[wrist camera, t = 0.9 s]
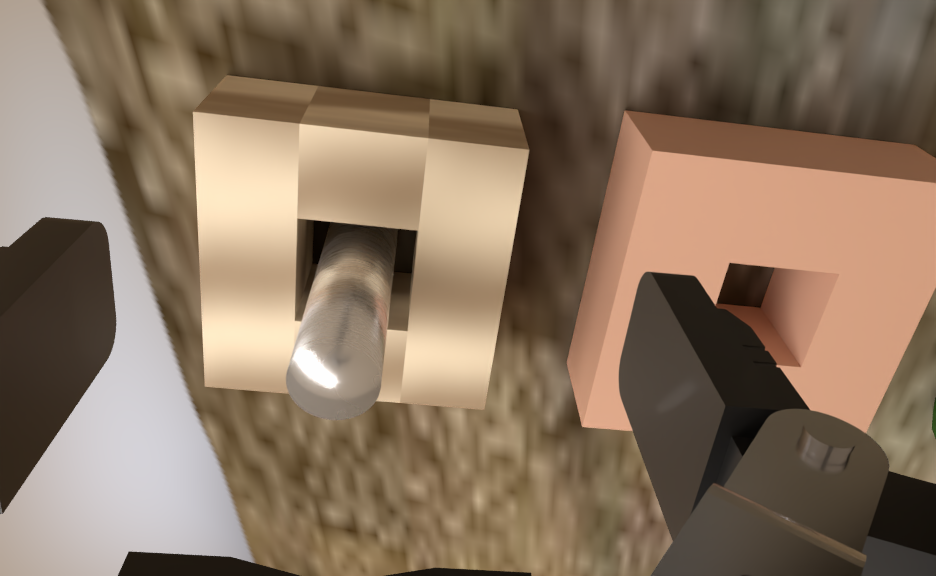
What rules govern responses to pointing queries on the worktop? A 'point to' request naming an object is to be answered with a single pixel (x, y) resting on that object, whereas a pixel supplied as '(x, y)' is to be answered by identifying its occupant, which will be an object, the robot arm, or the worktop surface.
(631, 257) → the dock block
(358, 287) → the lock pin
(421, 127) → the mount block
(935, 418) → the bell pepper
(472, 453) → the worktop surface
